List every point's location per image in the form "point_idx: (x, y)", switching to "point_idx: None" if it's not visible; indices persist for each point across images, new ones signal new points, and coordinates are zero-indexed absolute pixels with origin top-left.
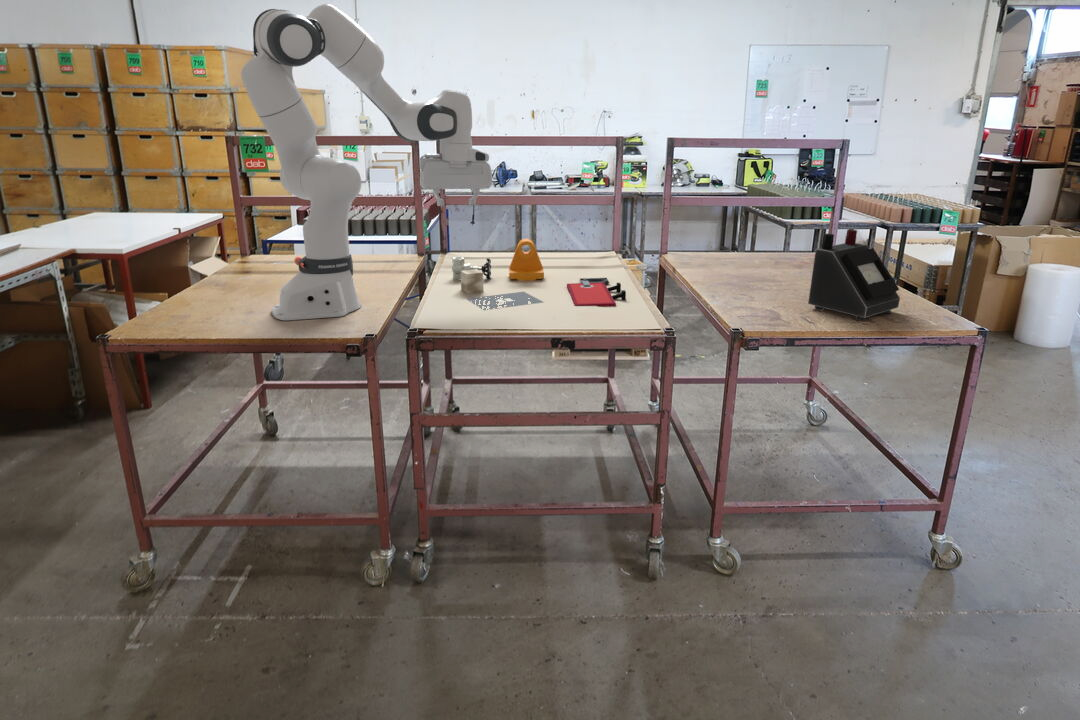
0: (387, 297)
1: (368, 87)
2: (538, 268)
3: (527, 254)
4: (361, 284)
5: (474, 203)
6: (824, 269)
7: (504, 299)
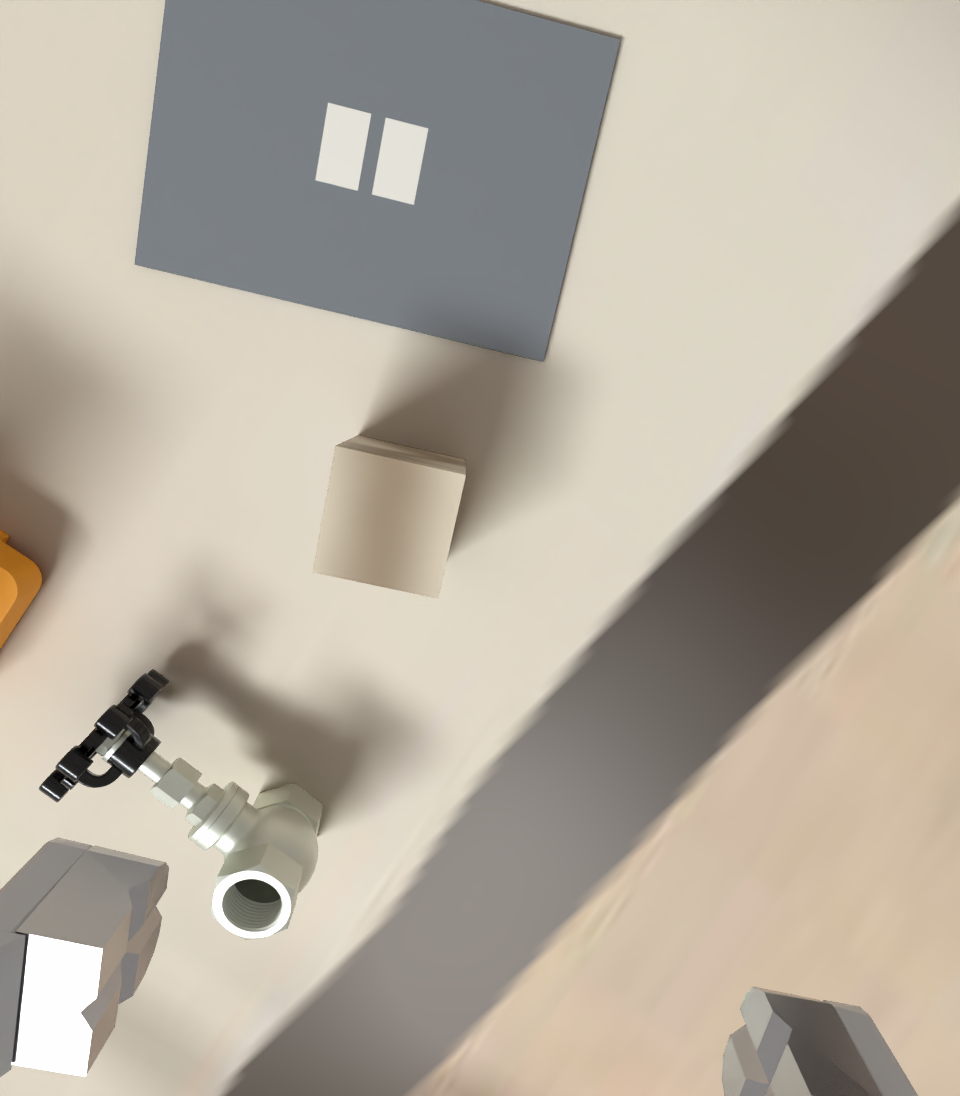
0: (852, 690)
1: None
2: None
3: None
4: None
5: (69, 855)
6: None
7: (359, 175)
